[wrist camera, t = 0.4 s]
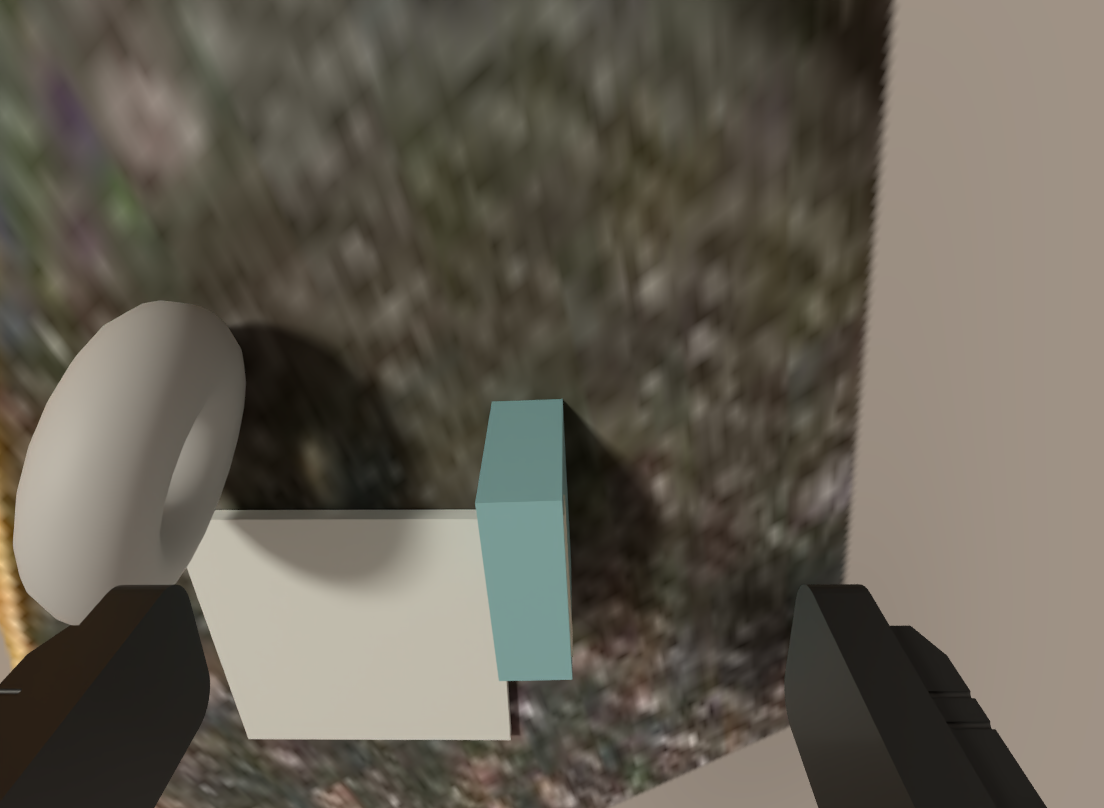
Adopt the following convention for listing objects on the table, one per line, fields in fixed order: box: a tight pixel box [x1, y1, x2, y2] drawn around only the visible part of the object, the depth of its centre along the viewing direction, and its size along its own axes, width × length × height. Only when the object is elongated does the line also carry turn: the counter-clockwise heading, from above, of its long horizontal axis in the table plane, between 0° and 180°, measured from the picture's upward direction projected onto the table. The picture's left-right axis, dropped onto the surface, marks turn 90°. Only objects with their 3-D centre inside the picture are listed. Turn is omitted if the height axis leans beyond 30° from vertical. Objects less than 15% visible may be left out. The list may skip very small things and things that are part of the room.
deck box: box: [475, 399, 573, 681], centre depth 27 cm, size 8×3×6 cm, turn 3°
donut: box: [13, 301, 246, 625], centre depth 23 cm, size 10×3×10 cm, turn 161°
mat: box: [187, 510, 511, 740], centre depth 33 cm, size 14×13×1 cm
